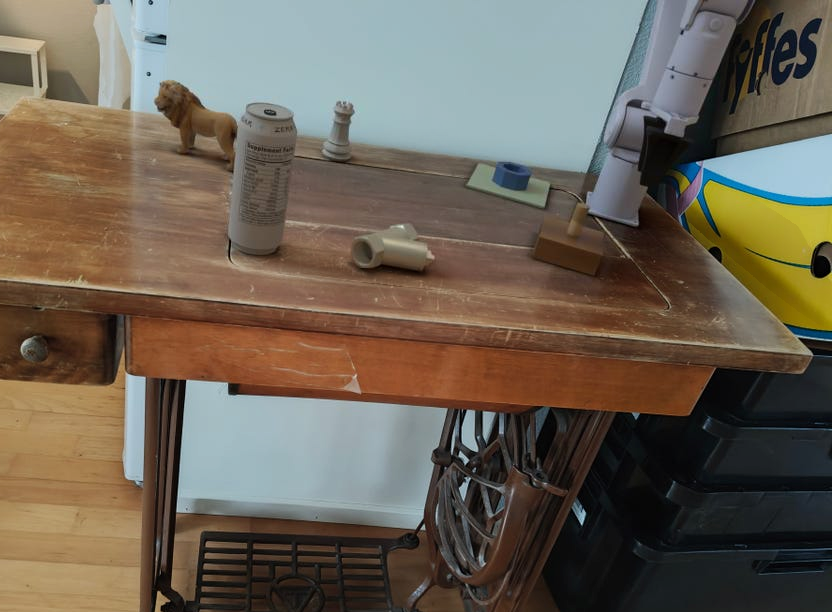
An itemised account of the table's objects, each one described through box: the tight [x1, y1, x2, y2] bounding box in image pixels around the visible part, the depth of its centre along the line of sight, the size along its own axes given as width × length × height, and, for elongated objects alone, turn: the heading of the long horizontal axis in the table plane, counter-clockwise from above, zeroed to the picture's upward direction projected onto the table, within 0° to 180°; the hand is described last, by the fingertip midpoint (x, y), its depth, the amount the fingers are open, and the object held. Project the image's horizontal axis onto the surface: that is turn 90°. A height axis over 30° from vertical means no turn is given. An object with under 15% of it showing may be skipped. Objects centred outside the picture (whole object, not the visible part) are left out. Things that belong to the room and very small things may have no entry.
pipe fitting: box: [350, 222, 435, 272], centre depth 82 cm, size 8×4×7 cm
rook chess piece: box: [321, 100, 355, 162], centre depth 108 cm, size 4×4×8 cm
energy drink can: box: [227, 102, 298, 256], centre depth 77 cm, size 6×6×15 cm
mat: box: [465, 162, 551, 210], centre depth 114 cm, size 12×12×1 cm
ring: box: [492, 161, 533, 191], centre depth 113 cm, size 5×5×2 cm
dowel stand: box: [531, 202, 604, 277], centre depth 93 cm, size 8×8×7 cm
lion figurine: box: [153, 79, 238, 172], centre depth 98 cm, size 15×5×9 cm, turn 73°
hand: (646, 179), depth 97 cm, fingers open, 7 cm apart
